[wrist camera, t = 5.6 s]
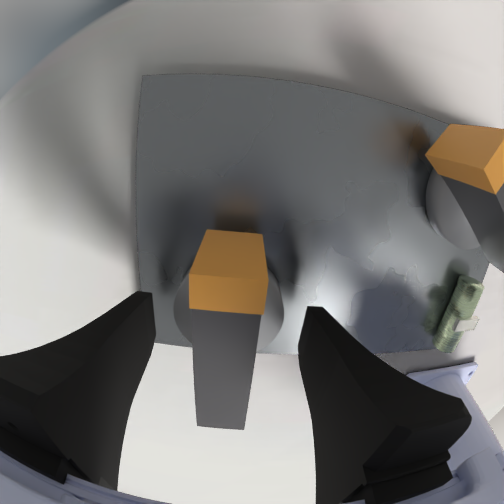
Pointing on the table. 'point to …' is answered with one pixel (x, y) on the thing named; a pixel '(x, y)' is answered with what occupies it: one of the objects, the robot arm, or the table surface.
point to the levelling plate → (302, 206)
